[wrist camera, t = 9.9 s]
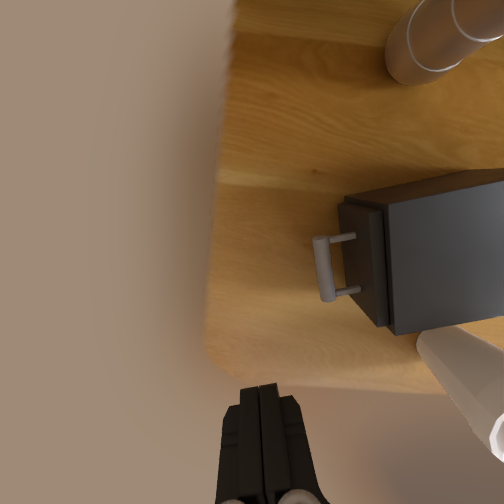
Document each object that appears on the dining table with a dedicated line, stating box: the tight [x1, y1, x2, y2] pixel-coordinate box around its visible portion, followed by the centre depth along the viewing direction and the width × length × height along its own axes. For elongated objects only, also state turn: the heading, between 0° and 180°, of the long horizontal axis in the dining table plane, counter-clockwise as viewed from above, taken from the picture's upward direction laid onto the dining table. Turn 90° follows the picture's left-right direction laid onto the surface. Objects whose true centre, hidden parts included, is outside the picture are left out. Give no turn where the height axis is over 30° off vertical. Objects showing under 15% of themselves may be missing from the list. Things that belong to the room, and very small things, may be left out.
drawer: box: [312, 202, 389, 328], centre depth 27 cm, size 18×11×8 cm, turn 102°
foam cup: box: [416, 325, 504, 463], centre depth 29 cm, size 10×9×13 cm
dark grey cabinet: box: [344, 168, 504, 336], centre depth 26 cm, size 15×13×10 cm
